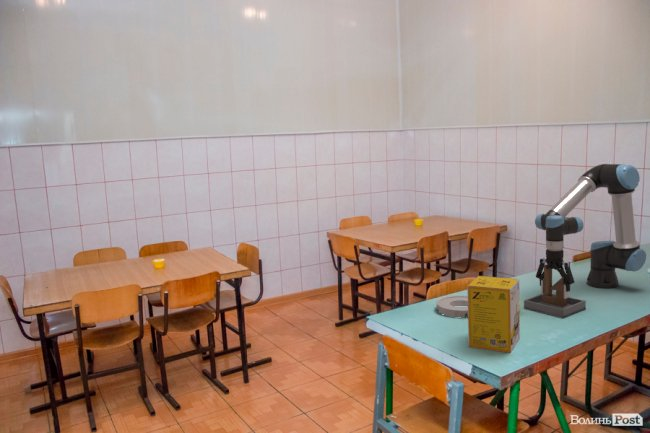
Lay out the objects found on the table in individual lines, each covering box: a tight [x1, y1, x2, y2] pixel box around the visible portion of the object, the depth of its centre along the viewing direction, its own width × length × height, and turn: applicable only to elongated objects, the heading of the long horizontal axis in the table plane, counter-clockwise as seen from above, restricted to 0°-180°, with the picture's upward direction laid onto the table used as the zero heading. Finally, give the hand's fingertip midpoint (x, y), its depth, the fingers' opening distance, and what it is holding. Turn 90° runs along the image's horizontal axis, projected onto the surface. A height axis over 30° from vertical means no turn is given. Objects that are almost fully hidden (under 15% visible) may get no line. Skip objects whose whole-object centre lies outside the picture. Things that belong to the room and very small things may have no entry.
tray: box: [523, 293, 587, 319], centre depth 257 cm, size 18×20×4 cm
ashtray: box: [436, 295, 468, 319], centre depth 263 cm, size 23×23×4 cm
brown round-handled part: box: [542, 263, 567, 307], centre depth 255 cm, size 4×11×18 cm, turn 34°
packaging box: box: [466, 275, 521, 354], centre depth 219 cm, size 16×16×25 cm
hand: (554, 295), depth 256 cm, fingers closed on brown round-handled part, 11 cm apart
